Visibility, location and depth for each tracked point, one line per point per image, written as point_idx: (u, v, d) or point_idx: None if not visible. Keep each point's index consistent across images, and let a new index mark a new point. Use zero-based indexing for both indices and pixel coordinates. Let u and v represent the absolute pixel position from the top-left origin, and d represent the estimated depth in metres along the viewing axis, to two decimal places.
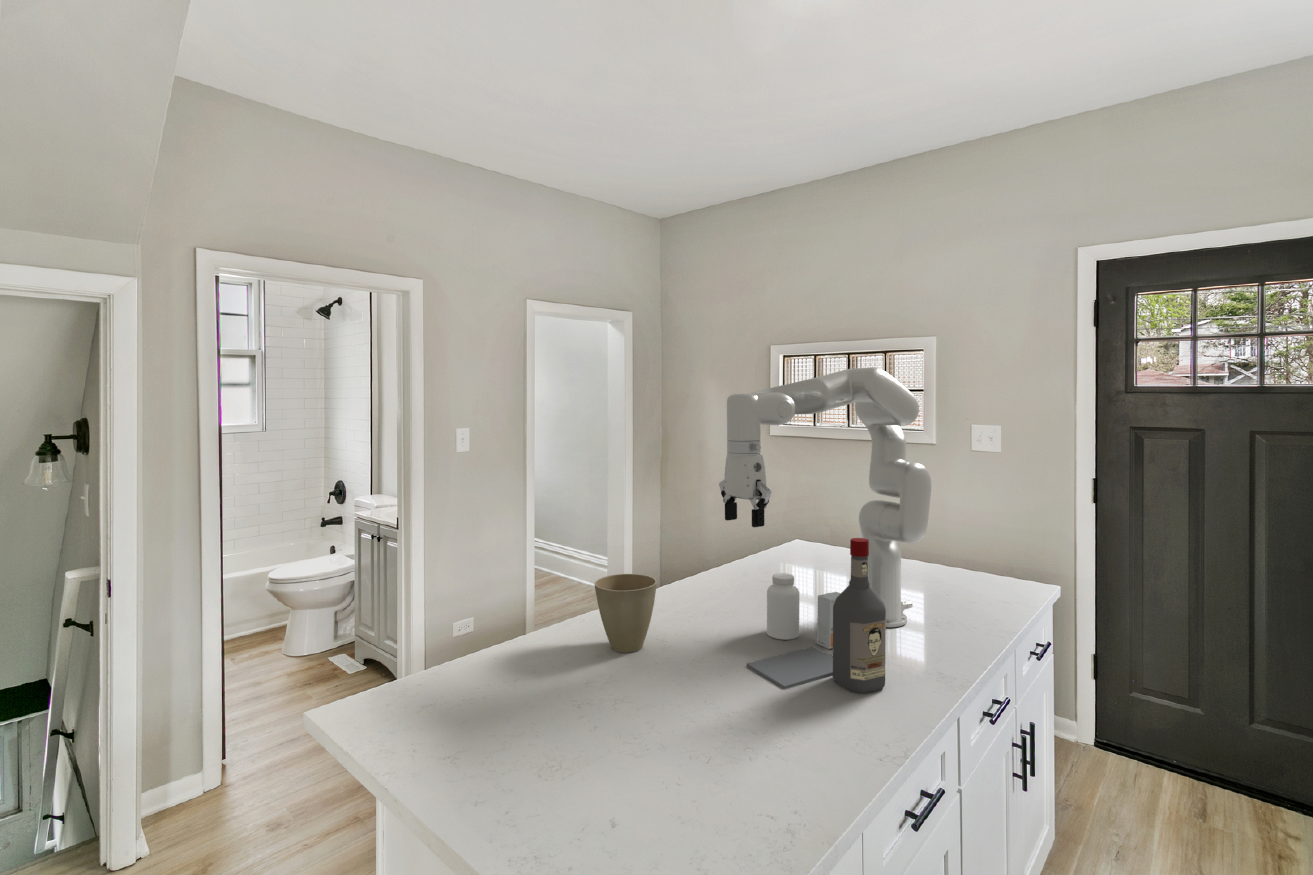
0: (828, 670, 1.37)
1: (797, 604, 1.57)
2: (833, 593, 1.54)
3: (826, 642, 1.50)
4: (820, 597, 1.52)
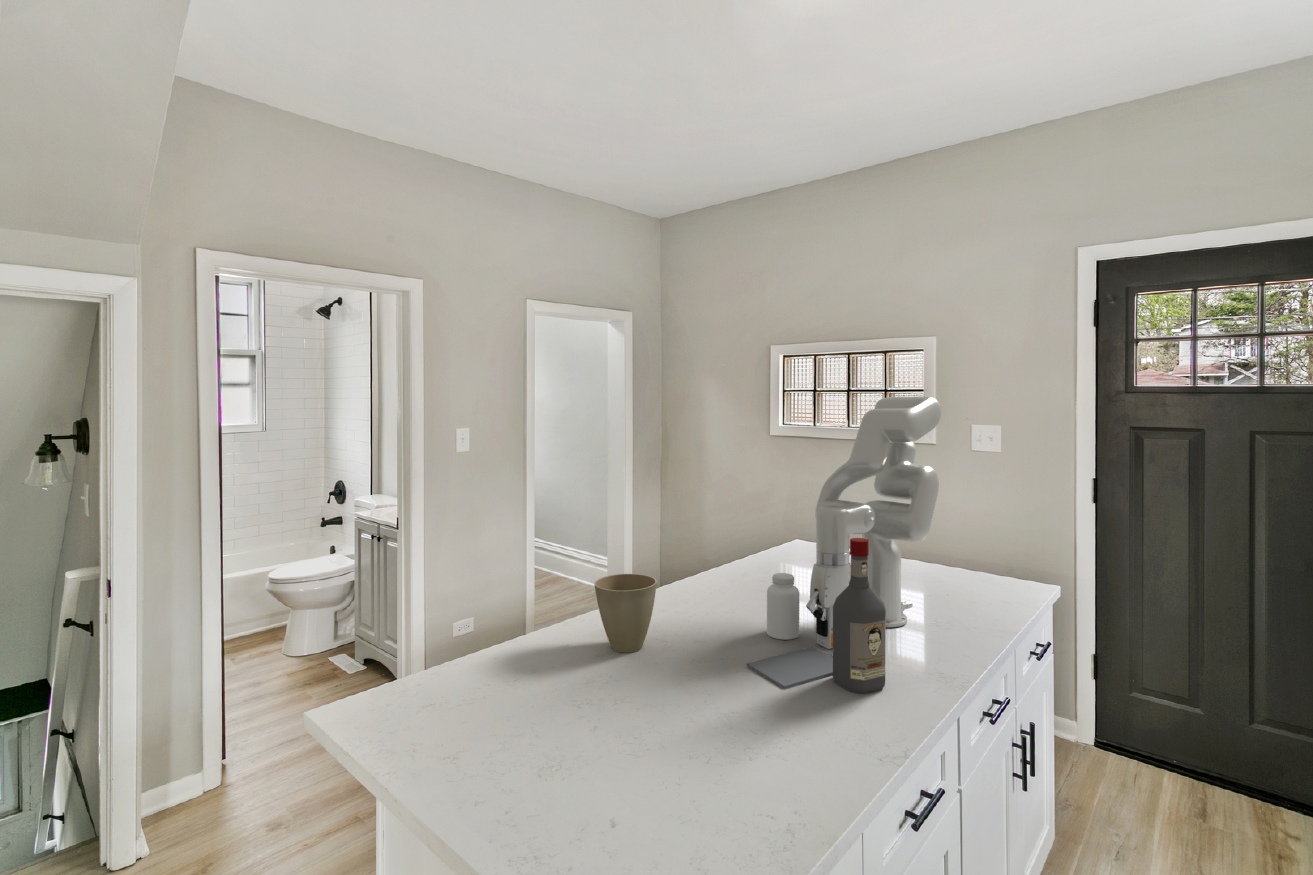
0: (828, 670, 1.37)
1: (797, 604, 1.57)
2: None
3: (826, 642, 1.50)
4: None
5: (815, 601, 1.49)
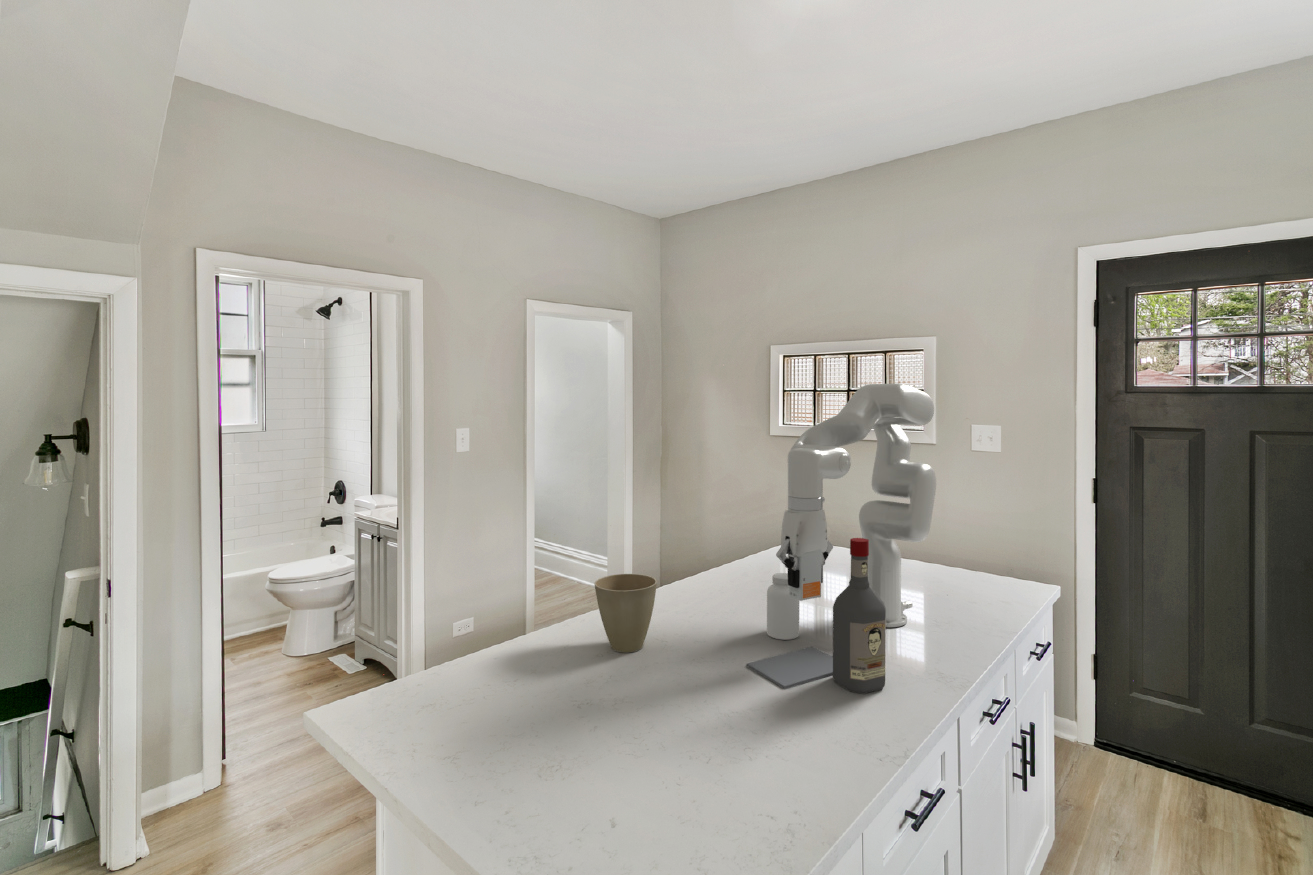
0: (828, 670, 1.37)
1: (797, 604, 1.57)
2: None
3: (798, 593, 1.40)
4: None
5: (786, 549, 1.39)
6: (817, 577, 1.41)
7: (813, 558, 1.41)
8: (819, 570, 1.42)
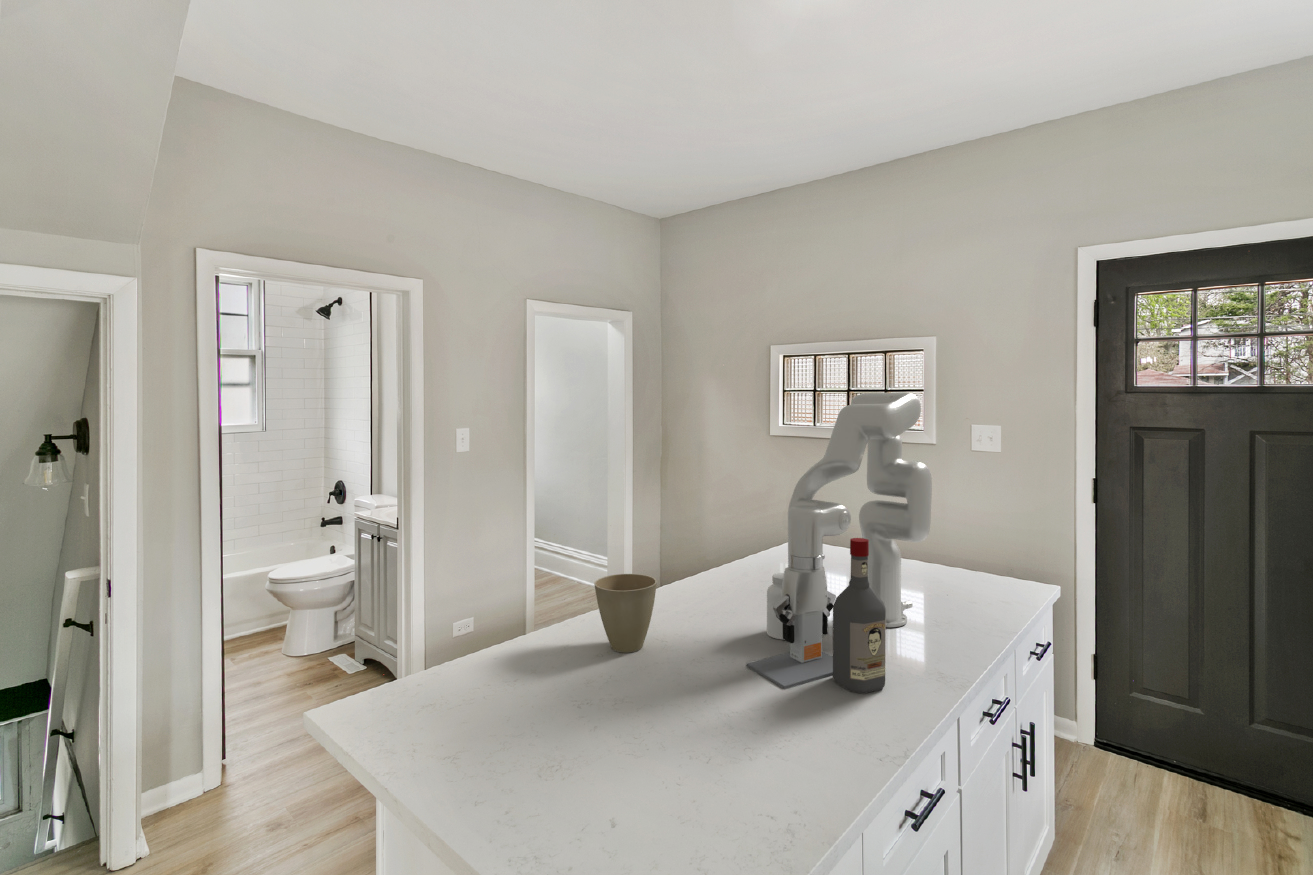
0: (828, 670, 1.37)
1: None
2: None
3: (799, 655, 1.41)
4: None
5: (785, 602, 1.39)
6: (818, 639, 1.43)
7: (814, 620, 1.42)
8: (820, 631, 1.43)
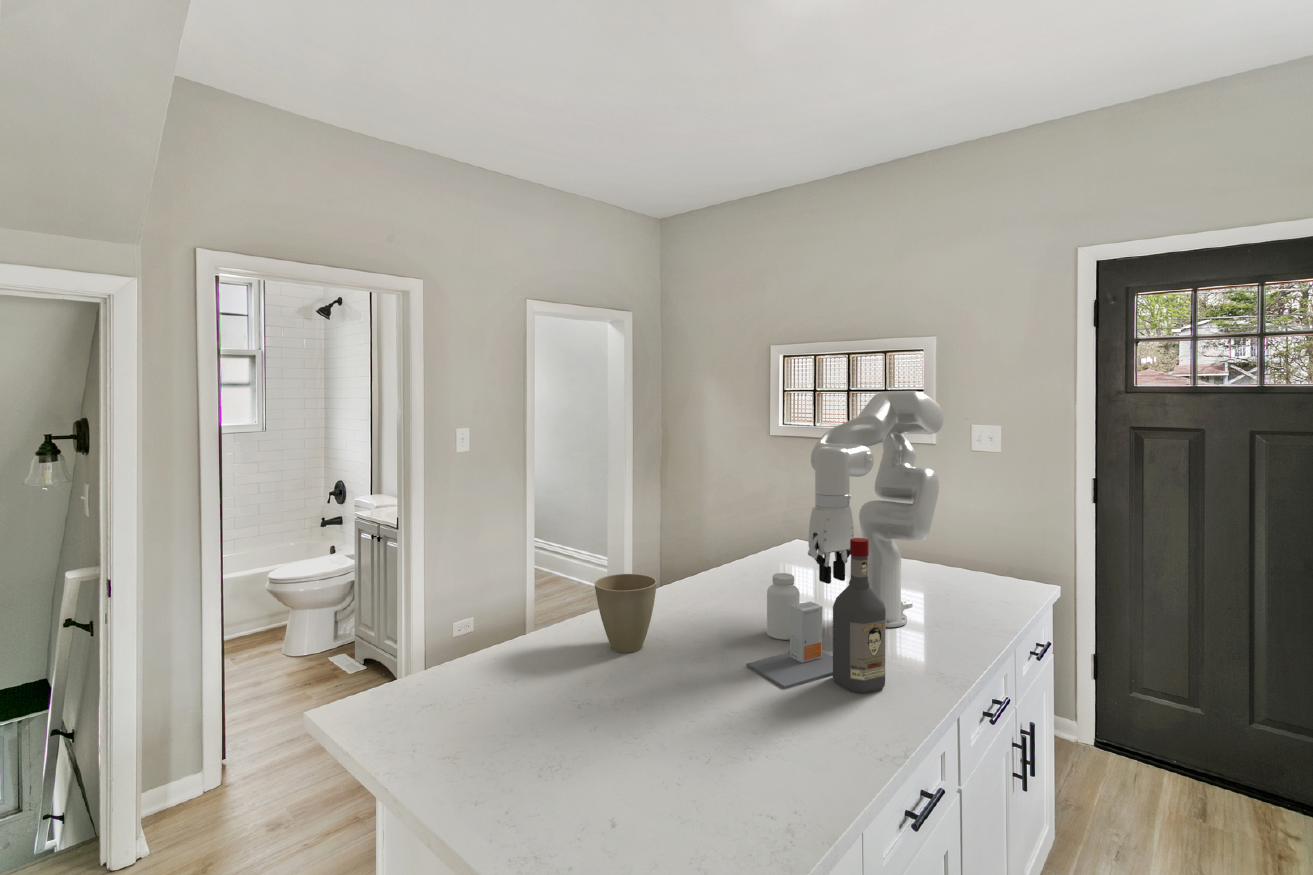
0: (828, 670, 1.37)
1: None
2: (807, 603, 1.45)
3: (799, 655, 1.41)
4: (793, 607, 1.43)
5: (815, 549, 1.43)
6: (818, 639, 1.43)
7: (814, 620, 1.42)
8: (820, 631, 1.43)
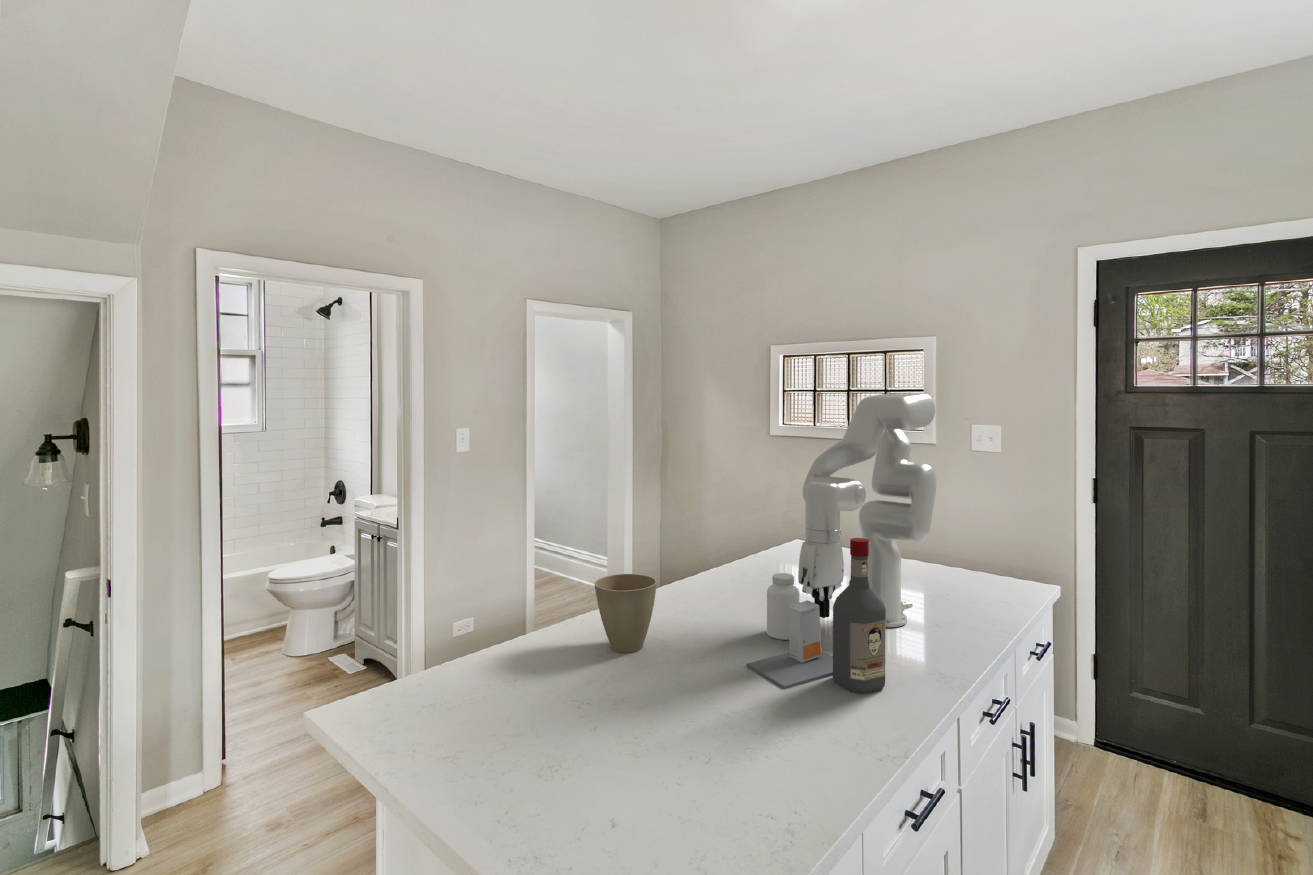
0: (828, 670, 1.37)
1: None
2: (803, 602, 1.44)
3: (798, 655, 1.41)
4: (790, 608, 1.42)
5: (807, 588, 1.42)
6: (816, 638, 1.42)
7: (811, 619, 1.41)
8: (818, 630, 1.43)
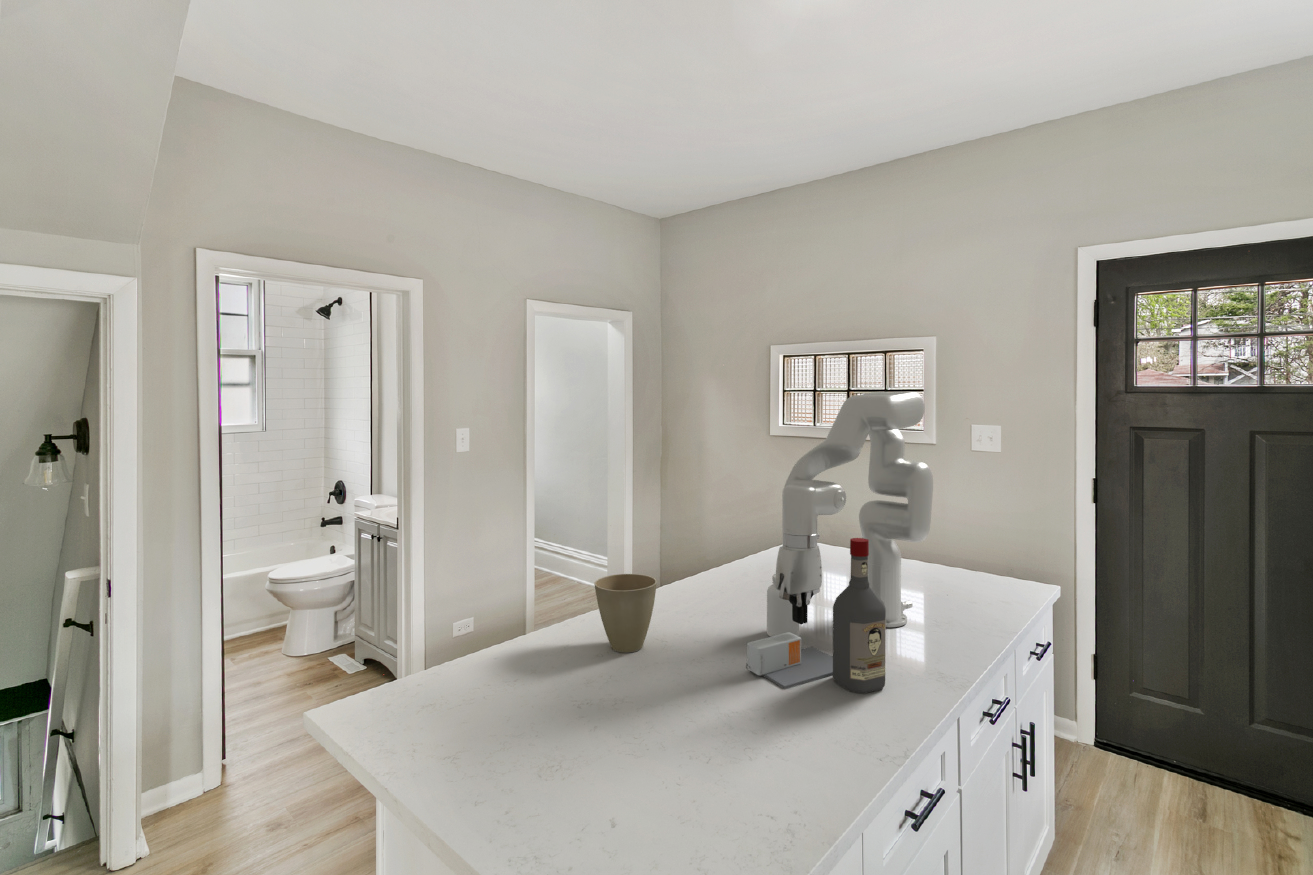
0: (828, 670, 1.37)
1: None
2: (749, 652, 1.37)
3: None
4: None
5: (784, 594, 1.39)
6: (785, 647, 1.38)
7: (769, 658, 1.36)
8: (780, 646, 1.37)
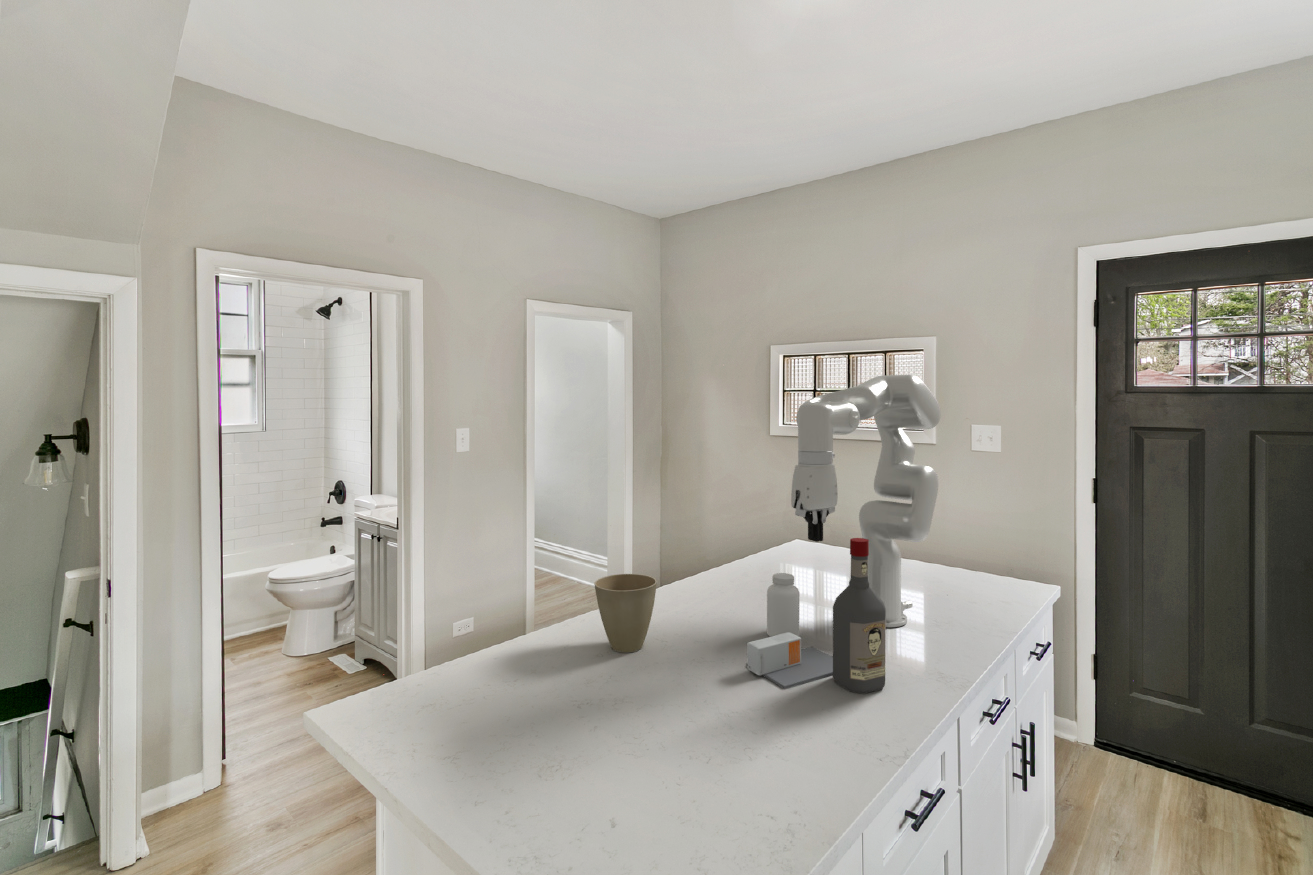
0: (828, 670, 1.37)
1: (797, 604, 1.57)
2: (749, 652, 1.37)
3: None
4: None
5: (800, 511, 1.40)
6: (785, 647, 1.38)
7: (769, 658, 1.36)
8: (780, 646, 1.37)
